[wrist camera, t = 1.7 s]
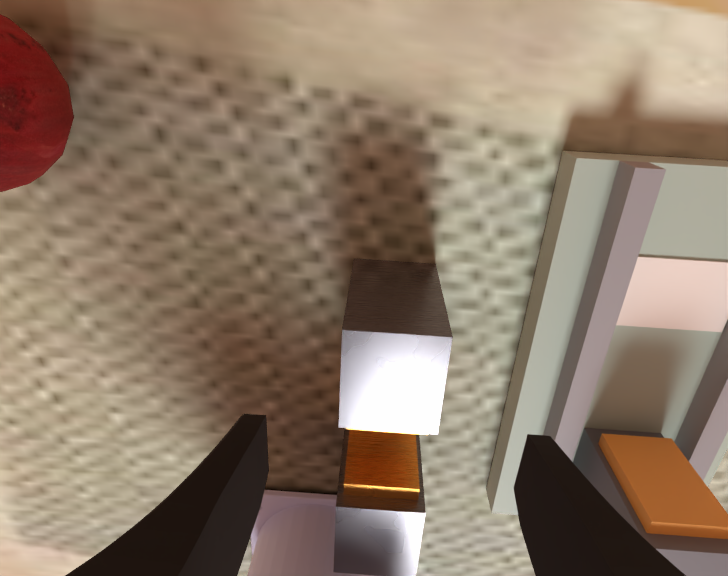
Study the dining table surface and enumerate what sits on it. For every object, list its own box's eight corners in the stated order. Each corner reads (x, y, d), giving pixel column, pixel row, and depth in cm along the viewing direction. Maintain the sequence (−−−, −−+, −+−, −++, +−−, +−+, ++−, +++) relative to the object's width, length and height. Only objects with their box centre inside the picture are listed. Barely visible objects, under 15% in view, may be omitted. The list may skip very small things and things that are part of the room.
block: (409, 469, 26) (415, 578, 20) (344, 464, 26) (333, 572, 20) (418, 401, 24) (427, 502, 18) (348, 396, 24) (335, 495, 18)
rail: (671, 503, 26) (772, 660, 19) (486, 489, 26) (520, 640, 19) (830, 166, 18) (1096, 232, 11) (562, 150, 18) (665, 205, 11)
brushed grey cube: (424, 353, 22) (435, 447, 17) (350, 348, 23) (338, 440, 17) (435, 263, 21) (452, 337, 15) (354, 258, 21) (341, 329, 15)
